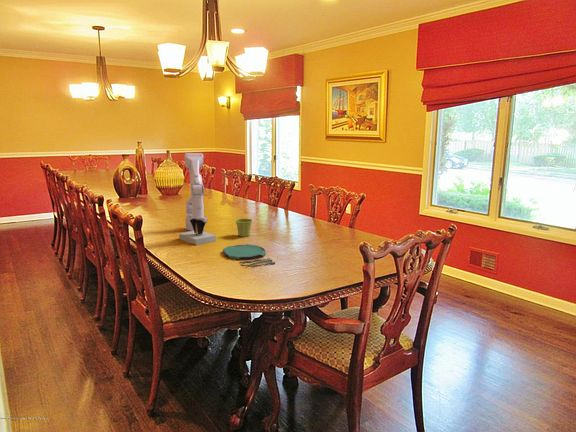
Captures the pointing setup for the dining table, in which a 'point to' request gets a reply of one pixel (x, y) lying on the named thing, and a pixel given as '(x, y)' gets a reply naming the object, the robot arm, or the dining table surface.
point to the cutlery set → (246, 253)
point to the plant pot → (244, 227)
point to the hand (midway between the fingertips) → (198, 233)
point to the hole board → (197, 237)
